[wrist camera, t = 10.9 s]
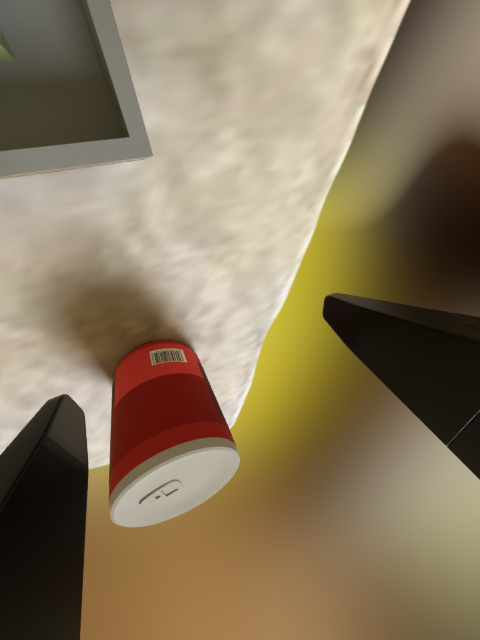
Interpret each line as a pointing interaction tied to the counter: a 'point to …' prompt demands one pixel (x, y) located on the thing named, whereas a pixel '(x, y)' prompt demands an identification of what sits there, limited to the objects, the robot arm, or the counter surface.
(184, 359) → the canned food
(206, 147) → the counter surface
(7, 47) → the green block
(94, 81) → the grey bin
